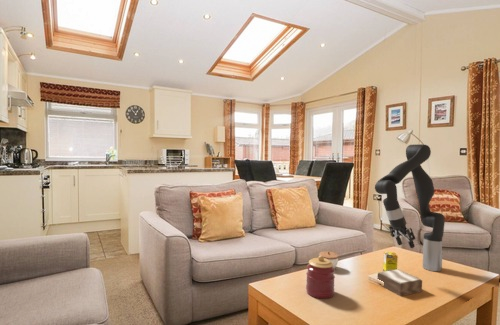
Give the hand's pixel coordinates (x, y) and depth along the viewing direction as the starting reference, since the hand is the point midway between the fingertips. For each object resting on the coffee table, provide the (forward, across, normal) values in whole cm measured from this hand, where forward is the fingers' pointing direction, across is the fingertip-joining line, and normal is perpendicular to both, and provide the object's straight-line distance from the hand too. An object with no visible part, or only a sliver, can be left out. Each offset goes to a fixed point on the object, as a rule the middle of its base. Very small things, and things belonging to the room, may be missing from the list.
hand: (406, 246), depth 155 cm
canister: (+1, -1, +54) cm, 54 cm away
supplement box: (+16, +14, +6) cm, 22 cm away
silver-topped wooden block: (+15, -4, +15) cm, 21 cm away
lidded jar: (+4, +26, +34) cm, 44 cm away
